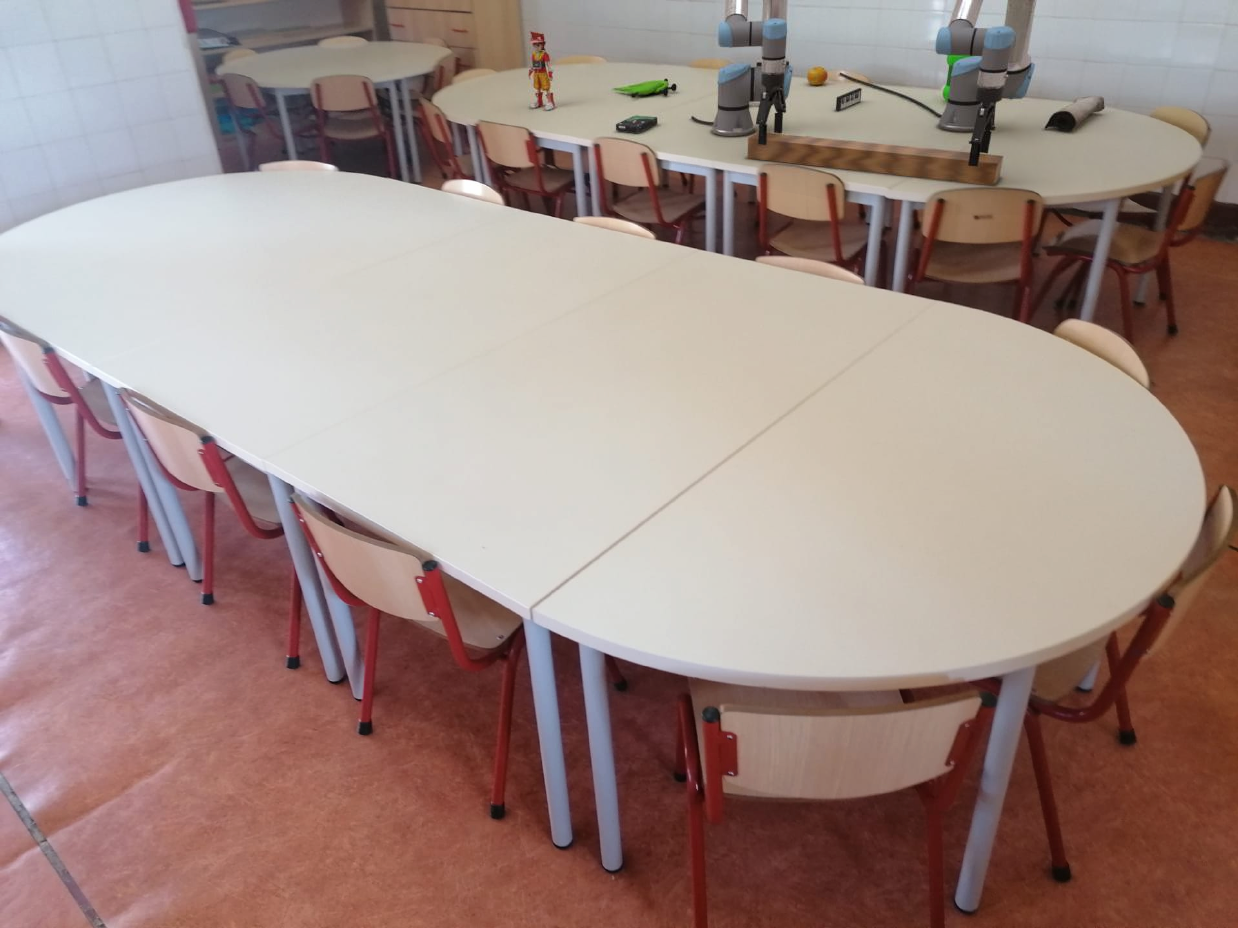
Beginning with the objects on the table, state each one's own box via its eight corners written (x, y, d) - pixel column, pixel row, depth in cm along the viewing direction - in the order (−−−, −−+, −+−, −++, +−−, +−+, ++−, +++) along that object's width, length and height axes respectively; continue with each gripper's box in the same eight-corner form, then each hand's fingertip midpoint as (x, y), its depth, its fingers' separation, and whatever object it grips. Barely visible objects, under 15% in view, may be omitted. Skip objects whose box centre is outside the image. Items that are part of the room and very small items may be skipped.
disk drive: (638, 134, 340) (658, 124, 350) (638, 126, 338) (657, 116, 349) (615, 131, 345) (635, 121, 355) (615, 124, 343) (635, 114, 353)
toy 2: (686, 85, 398) (631, 84, 414) (685, 72, 395) (629, 72, 411) (651, 104, 381) (596, 103, 397) (650, 92, 378) (594, 91, 394)
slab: (747, 158, 307) (747, 138, 304) (757, 151, 313) (757, 132, 310) (993, 185, 272) (997, 163, 268) (999, 177, 278) (1003, 155, 274)
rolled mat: (1071, 101, 334) (1096, 83, 326) (1085, 121, 335) (1110, 105, 327) (1040, 123, 317) (1065, 105, 309) (1054, 144, 318) (1080, 127, 309)
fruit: (802, 77, 388) (813, 60, 385) (805, 81, 396) (816, 64, 392) (818, 88, 386) (829, 71, 383) (820, 91, 394) (832, 74, 391)
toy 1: (525, 109, 381) (517, 32, 364) (534, 104, 388) (527, 28, 371) (550, 110, 377) (543, 32, 360) (559, 105, 384) (553, 28, 367)
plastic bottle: (973, 101, 354) (984, 32, 339) (955, 106, 349) (966, 36, 335) (952, 97, 361) (962, 29, 346) (934, 102, 356) (944, 33, 342)
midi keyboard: (838, 111, 353) (839, 97, 350) (835, 110, 353) (836, 97, 350) (860, 101, 363) (861, 88, 360) (857, 101, 364) (859, 88, 361)
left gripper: (768, 82, 282) (766, 150, 294) (798, 64, 299) (794, 129, 311) (746, 80, 285) (745, 148, 298) (777, 62, 302) (774, 127, 314)
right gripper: (994, 97, 252) (981, 173, 264) (1013, 77, 269) (999, 148, 281) (967, 95, 255) (955, 170, 267) (987, 75, 272) (975, 146, 284)
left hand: (770, 138), depth 304 cm, fingers open, 13 cm apart
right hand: (978, 159), depth 274 cm, fingers open, 13 cm apart
